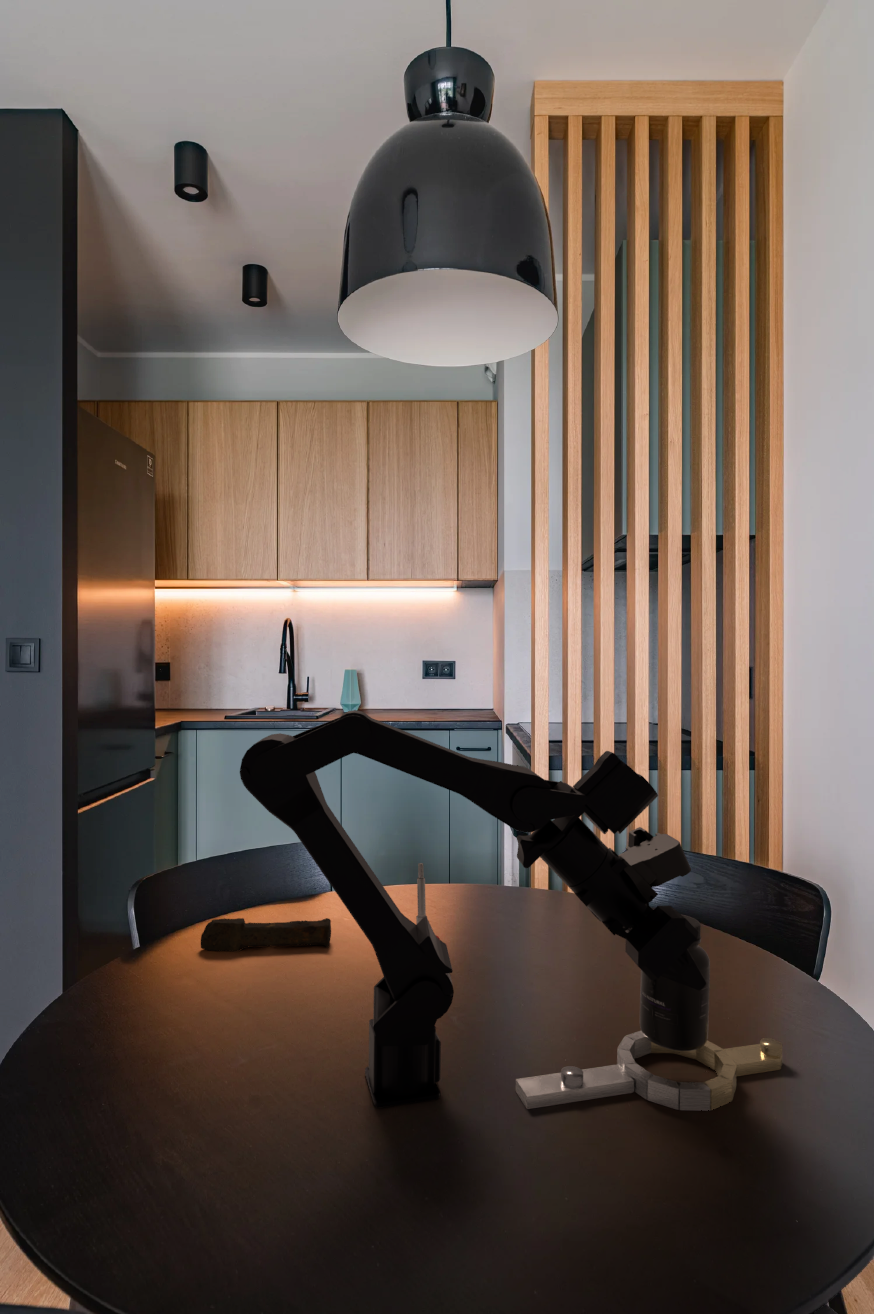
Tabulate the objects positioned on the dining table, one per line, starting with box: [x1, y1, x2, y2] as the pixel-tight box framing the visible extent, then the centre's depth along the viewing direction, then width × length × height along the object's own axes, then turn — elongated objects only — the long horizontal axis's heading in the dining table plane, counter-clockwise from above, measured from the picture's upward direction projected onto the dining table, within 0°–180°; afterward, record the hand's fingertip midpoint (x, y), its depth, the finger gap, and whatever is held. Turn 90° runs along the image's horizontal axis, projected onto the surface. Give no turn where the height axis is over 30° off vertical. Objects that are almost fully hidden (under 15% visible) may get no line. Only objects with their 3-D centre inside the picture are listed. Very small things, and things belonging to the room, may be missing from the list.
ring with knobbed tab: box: [650, 1037, 783, 1111], centre depth 76 cm, size 13×12×2 cm
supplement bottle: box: [639, 913, 711, 1051], centre depth 75 cm, size 7×7×12 cm
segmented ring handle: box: [515, 1030, 711, 1112], centre depth 73 cm, size 17×12×2 cm
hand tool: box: [200, 917, 332, 953], centre depth 108 cm, size 19×4×5 cm, turn 97°
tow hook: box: [415, 862, 441, 940], centre depth 109 cm, size 8×13×9 cm
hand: (687, 971), depth 75 cm, fingers closed on supplement bottle, 7 cm apart
